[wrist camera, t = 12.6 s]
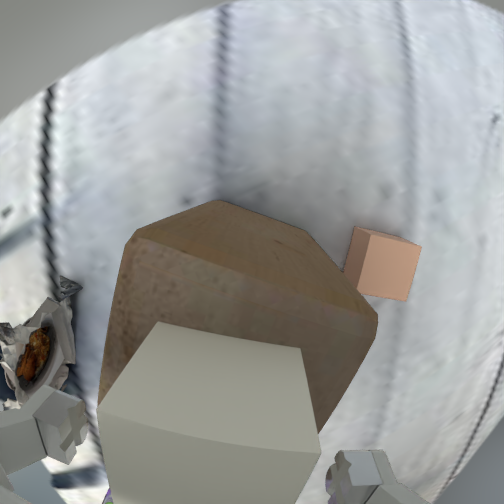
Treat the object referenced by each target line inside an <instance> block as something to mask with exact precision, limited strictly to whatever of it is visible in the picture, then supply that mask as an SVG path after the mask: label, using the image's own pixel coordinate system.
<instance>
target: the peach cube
mask: <svg viewBox="0 0 504 504" xmlns="http://www.w3.org/2000/svg"><path fill="white" fill-rule="evenodd" d="M421 248H422V247H421V246H419V245H417V244H415V243H412V242H410V241H408V240H405V239H403V238H401V237H397V236H393V235H389V234H385V233H381V232H377V231H372V230H368V229H364V228H360V227H355V226H354V231H353V235H352V239H351V243H350V248H349V252H348V256H347V260H346V264H345V267H344V271H343V274H344V275H345V276H346V277H347V278H348V280H349V281H350V282H351V283H352V284H353V285H354V287H355V288H356V289H357V290H358V291H359V293H360V294H365V295H371V296H376V297H382V298H388V299H394V300H400V301H406V300H407V297H408V294H409V290H410V287H411V284H412V280H413V277H414V274H415V270H416V267H417V263H418V259H419V255H420V252H421Z"/></svg>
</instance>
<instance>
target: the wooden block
mask: <svg viewBox="0 0 504 504" xmlns="http://www.w3.org/2000/svg"><path fill="white" fill-rule="evenodd" d="M158 321H159V322H163V323H167V324H172V325H176V326H181V327H185V328H190V329H195V330H199V331H204V332H209V333H214V334H219V335H224V336H230V337H235V338H240V339H246V340H252V341H258V342H263V343H269V344H276V345H282V346H289V347H295V348H300V349H301V354H302V359H303V363H304V368H305V373H306V378H307V383H308V388H309V392H310V397H311V402H312V407H313V412H314V417H315V422H316V428H317V433H318V434H319V432H320V431H321V429H322V428H323V426H324V425H325V423H326V422H327V420H328V419H329V417H330V415H331V414H332V412H333V411H334V409H335V408H336V406H337V404H338V403H339V401H340V400H341V398H342V396H343V395H344V393H345V391H346V390H347V388H348V386H349V385H350V383H351V381H352V379H353V378H354V376H355V374H356V372H357V371H358V369H359V367H360V365H361V364H362V362H363V360H364V358H365V356H366V355H367V353H368V351H369V349H370V347H371V345H372V343H373V341H374V339H375V336H376V331H377V325H378V314H377V313H376V312H375V311H374V309H373V308H372V307H371V306H370V305H369V303H368V302H367V301H366V300H365V299H364V297H363V296H362V295H361V294H360V293H359V291H358V290H357V289H356V288H355V287H354V285H353V284H352V283H351V282H350V281H349V280H348V278H347V277H346V276H345V275H344V274H343V272H342V271H341V270H340V269H339V268H338V267H337V265H336V264H335V263H334V262H333V261H332V260H331V259H330V257H329V256H328V255H327V254H326V253H325V252H324V251H323V249H322V248H321V247H320V246H319V245H318V244H317V243H316V241H315V240H314V239H313V238H312V237H311V236H310V235H309V234H308V233H307V232H306V231H304V230H302V229H299V228H296V227H294V226H291V225H288V224H286V223H283V222H280V221H277V220H275V219H272V218H269V217H266V216H264V215H261V214H258V213H255V212H253V211H250V210H247V209H244V208H241V207H239V206H236V205H233V204H230V203H227V202H224V201H221V200H217V201H210V202H207V203H205V204H202V205H199V206H196V207H194V208H191V209H188V210H186V211H183V212H180V213H178V214H175V215H173V216H170V217H167V218H165V219H162V220H160V221H157V222H154V223H152V224H149V225H147V226H144V227H142V228H139V229H137V230H136V231H135V233H134V234H133V235H132V237H131V238H130V239H129V241H128V242H127V243H126V245H125V248H124V252H123V256H122V260H121V265H120V269H119V274H118V278H117V283H116V287H115V292H114V297H113V302H112V307H111V313H110V318H109V324H108V330H107V335H106V342H105V348H104V355H103V362H102V369H101V377H100V385H99V394H98V406H99V404H100V403H101V402H102V400H103V399H104V397H105V396H106V394H107V393H108V391H109V390H110V388H111V387H112V385H113V384H114V383H115V381H116V380H117V378H118V377H119V375H120V374H121V372H122V371H123V370H124V368H125V367H126V365H127V364H128V362H129V361H130V360H131V358H132V357H133V355H134V354H135V353H136V351H137V350H138V348H139V347H140V345H141V344H142V343H143V341H144V340H145V338H146V337H147V336H148V334H149V333H150V331H151V330H152V329H153V327H154V326H155V324H156V323H157V322H158Z"/></svg>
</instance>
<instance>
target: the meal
mask: <svg viewBox="0 0 504 504" xmlns="http://www.w3.org/2000/svg"><path fill="white" fill-rule="evenodd" d="M60 285H61V287H63V288H65V289H66V290H64V291H61V293H63V294H64V295H60V296H59V299H62V301H61V302H60V303H59V302H57V301H55V300H53V299H52V298H50V297H47V299H46V300H45V302H44V303H43V304H42V305H41V306H40V308H39V309H38V310H37V311H36V313H35V314H34V316H33V317H31V318H29V319H28V320H27V321H26V322H25V323H24V324H23V325H21V324H19V325H18V326H16V327H15V328H12V327H11V325H10V323H0V346H1V347H2V351H3V354H0V355H1V356H2V359H1V361H0V363H1V365H2V367H3V368H4V370H5V377H6V381H7V384H8V385H9V387H10V388H11V389H12V390H14V391H15V395H16V398H17V401H16V400H11V399H7V401H6V402H5V403H3V407H4V410H3V411H5V410H9V409H13V408H17V409H20V408H21V407H22V406H23V405H24V404H25V403H26V402H27V401H28V400H29V399H30V398H31V397H32V396H33V394H34V393H35V392H36V391H37V390H38V389H39V388H40V387H41V386H43V385H48V386H50V387H52V388H54V389H56V390H59V389H60V387H61V386H63V382H64V381H65V380H66V379H67V377H68V370H69V368H68V367H66V365H65V364H67V363H72V364H75V344H74V333H73V330H72V326H71V319H72V309H71V305H70V298H69V296H70V295H72V294H74V293H75V292H77V291H79V290H81V289H82V287H81V286H80V285H79V284H77V283H76V282H74V281H71V280H69V279H66V278H64V277H62V276H60ZM66 386H67V385H64V386H63V387H62V391H63V390H64V389H65V387H66ZM62 391H61V392H62Z"/></svg>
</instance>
